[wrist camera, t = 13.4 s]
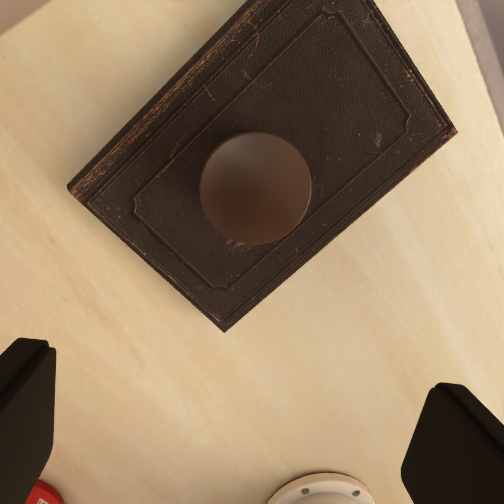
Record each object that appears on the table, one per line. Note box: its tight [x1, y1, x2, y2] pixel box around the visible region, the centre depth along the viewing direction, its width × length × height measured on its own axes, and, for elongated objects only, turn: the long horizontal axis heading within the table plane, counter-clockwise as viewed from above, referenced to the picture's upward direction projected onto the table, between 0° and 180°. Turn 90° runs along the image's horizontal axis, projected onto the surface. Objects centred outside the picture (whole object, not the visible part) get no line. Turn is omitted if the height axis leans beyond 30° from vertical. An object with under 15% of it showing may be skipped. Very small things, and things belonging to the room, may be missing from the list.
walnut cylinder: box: [200, 131, 312, 245], centre depth 22 cm, size 6×6×8 cm
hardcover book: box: [67, 0, 458, 333], centre depth 27 cm, size 16×23×2 cm
